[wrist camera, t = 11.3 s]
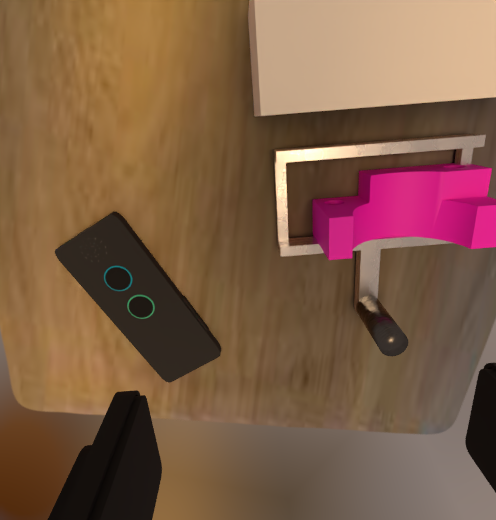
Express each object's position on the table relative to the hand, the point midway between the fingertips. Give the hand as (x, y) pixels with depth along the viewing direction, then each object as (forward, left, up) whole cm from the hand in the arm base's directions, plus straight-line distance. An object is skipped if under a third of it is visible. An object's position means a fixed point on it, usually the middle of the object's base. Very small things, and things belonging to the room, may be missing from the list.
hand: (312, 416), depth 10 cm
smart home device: (+10, -13, -29) cm, 34 cm away
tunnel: (-12, +11, -28) cm, 33 cm away
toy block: (+1, +13, -29) cm, 32 cm away
